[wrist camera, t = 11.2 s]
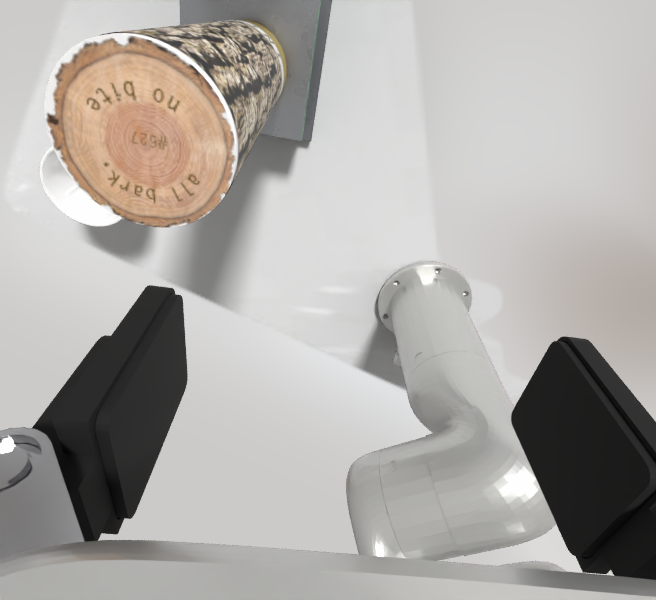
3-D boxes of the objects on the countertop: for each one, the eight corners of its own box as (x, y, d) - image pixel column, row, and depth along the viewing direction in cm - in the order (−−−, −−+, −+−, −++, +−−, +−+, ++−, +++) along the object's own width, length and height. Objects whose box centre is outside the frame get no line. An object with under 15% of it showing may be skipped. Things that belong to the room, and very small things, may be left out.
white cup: (99, 103, 43) (45, 124, 35) (173, 140, 45) (139, 169, 37) (85, 170, 47) (34, 203, 39) (154, 201, 49) (120, 239, 41)
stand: (311, 138, 45) (309, 153, 40) (189, 115, 43) (171, 128, 38) (333, -10, 37) (334, -13, 32) (187, -42, 36) (165, -51, 31)
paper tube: (281, 117, 38) (227, 242, 17) (206, 98, 37) (58, 208, 17) (294, 31, 34) (246, 62, 14) (211, 8, 33) (27, 6, 13)
